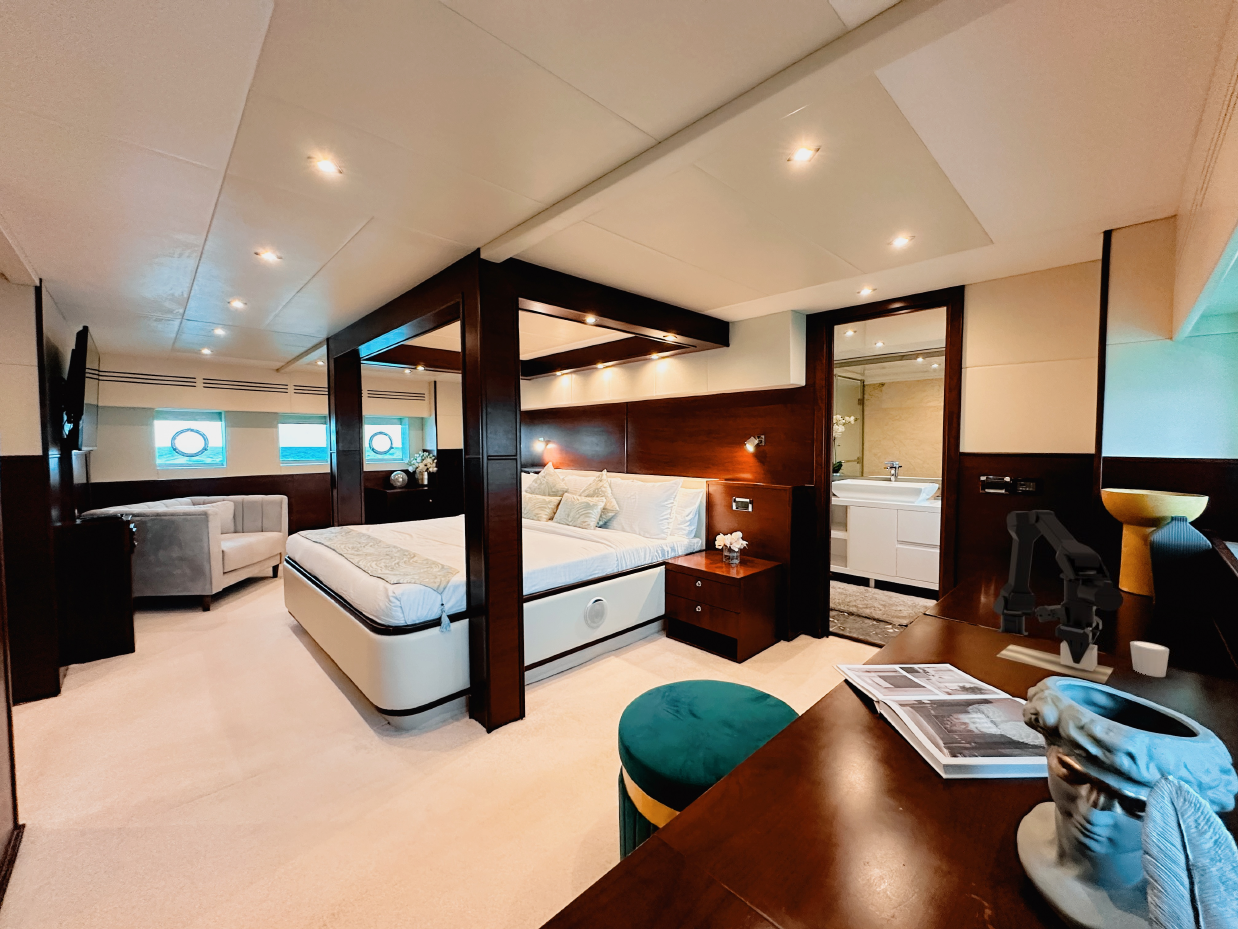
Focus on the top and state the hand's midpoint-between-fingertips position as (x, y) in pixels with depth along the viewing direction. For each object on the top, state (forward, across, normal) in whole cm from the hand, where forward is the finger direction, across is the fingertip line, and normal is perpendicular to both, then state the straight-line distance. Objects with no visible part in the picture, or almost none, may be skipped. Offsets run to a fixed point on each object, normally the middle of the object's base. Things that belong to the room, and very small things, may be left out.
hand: (1078, 660), depth 125 cm
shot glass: (+4, -16, +11) cm, 20 cm away
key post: (+2, 0, 0) cm, 2 cm away
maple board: (+4, 0, -5) cm, 6 cm away
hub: (+1, 0, 0) cm, 1 cm away
